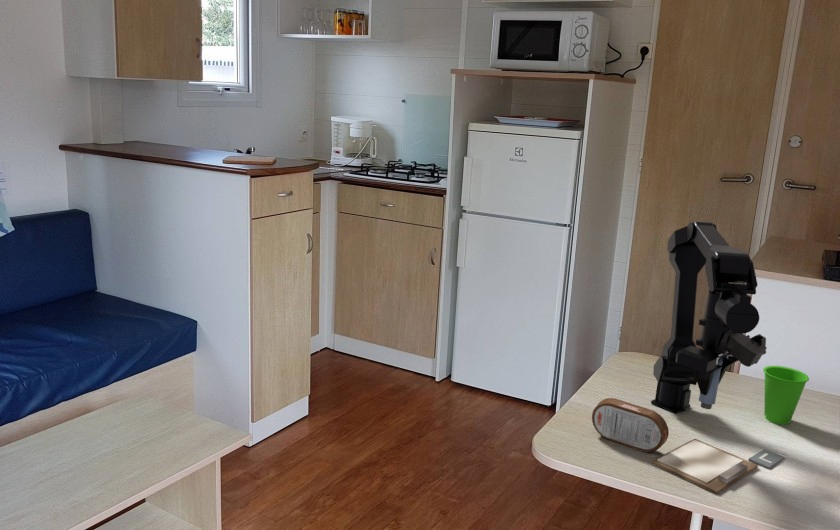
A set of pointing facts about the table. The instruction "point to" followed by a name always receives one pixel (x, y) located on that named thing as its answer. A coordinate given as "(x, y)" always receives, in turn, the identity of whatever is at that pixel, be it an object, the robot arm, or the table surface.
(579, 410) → the table surface
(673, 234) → the robot arm
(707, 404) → the cylinder
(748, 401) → the table surface
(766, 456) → the letter tile
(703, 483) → the clipboard
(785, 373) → the cup
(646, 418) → the tin
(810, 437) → the table surface
